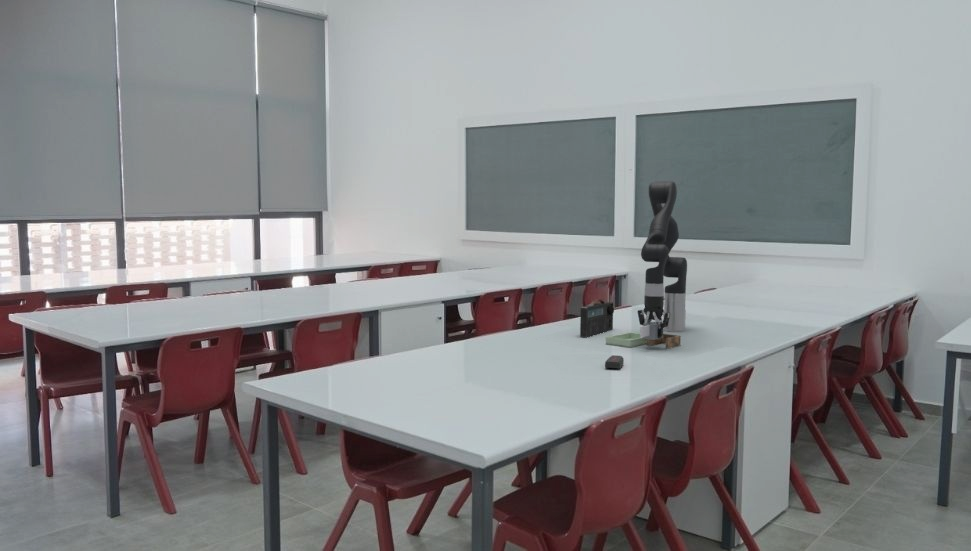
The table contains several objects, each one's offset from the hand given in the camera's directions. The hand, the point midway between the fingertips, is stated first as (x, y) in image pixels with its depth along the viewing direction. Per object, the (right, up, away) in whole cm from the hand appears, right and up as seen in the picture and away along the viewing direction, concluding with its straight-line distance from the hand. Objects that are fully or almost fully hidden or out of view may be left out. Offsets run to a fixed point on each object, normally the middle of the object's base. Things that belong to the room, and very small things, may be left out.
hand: (653, 336), depth 315 cm
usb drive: (-21, -8, -33) cm, 39 cm away
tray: (-7, -4, +11) cm, 14 cm away
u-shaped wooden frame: (+6, -4, +6) cm, 9 cm away
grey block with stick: (-2, -1, -2) cm, 3 cm away
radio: (-17, -2, +37) cm, 40 cm away
